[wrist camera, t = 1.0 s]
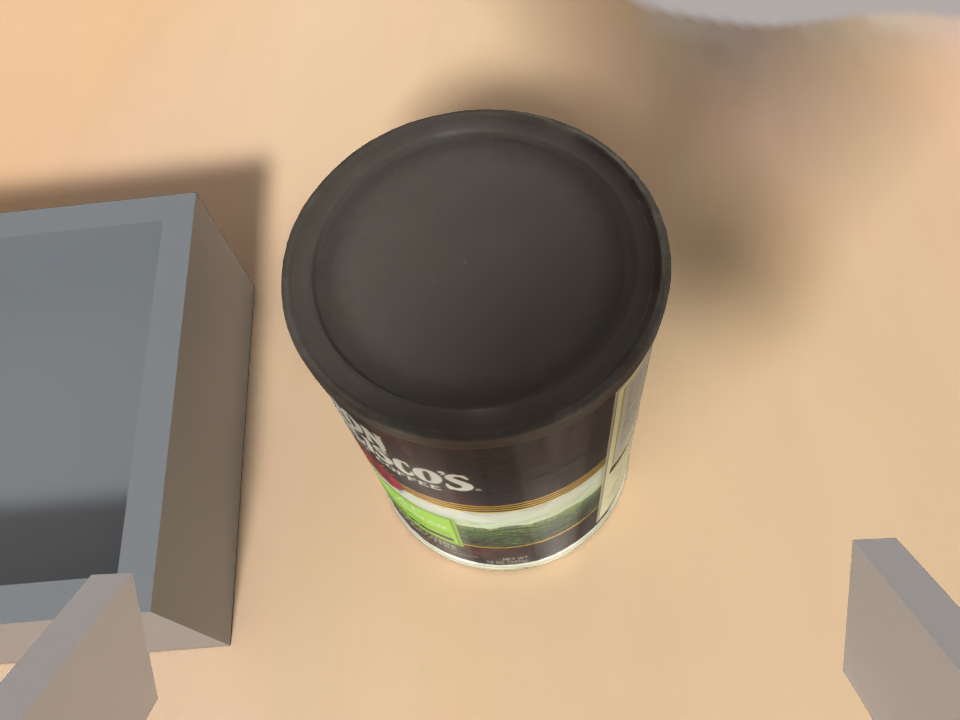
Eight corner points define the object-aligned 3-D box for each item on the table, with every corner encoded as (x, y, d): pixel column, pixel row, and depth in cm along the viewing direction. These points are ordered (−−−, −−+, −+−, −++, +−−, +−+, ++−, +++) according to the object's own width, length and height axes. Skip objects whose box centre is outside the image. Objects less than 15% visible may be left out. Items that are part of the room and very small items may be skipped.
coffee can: (508, 631, 32) (471, 528, 19) (330, 452, 36) (203, 269, 23) (686, 441, 34) (755, 241, 22) (503, 293, 38) (473, 52, 26)
